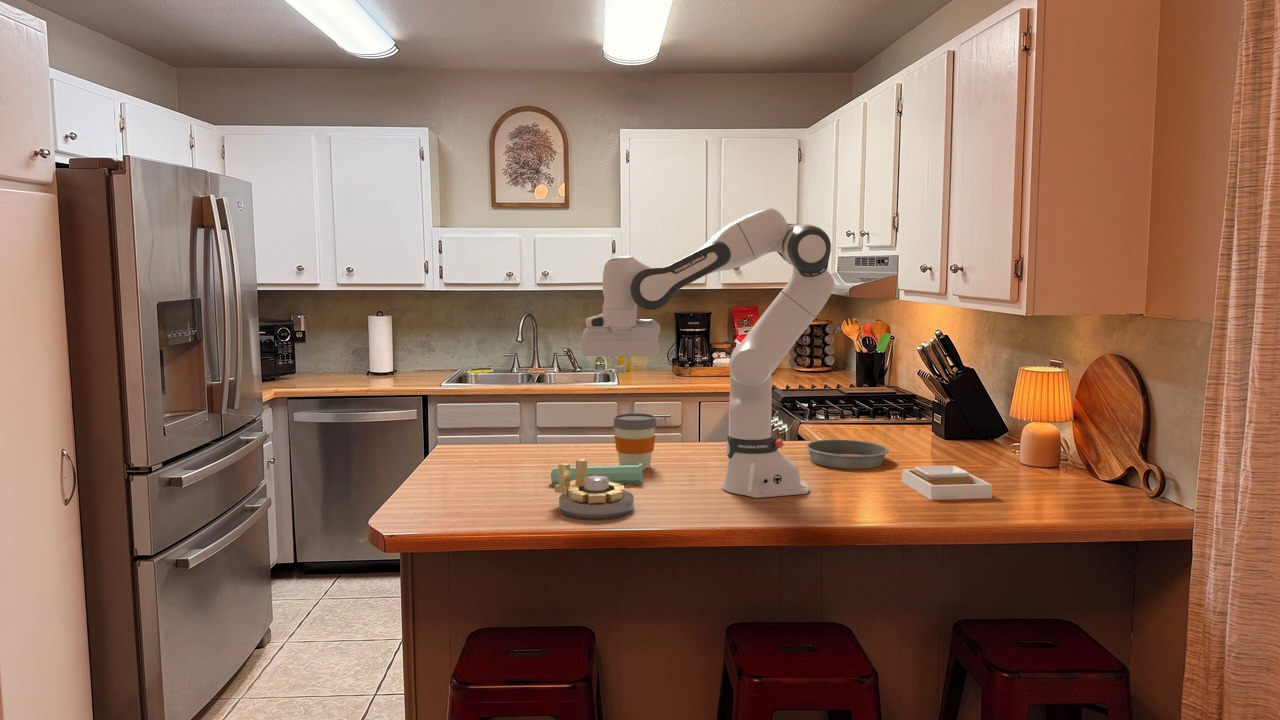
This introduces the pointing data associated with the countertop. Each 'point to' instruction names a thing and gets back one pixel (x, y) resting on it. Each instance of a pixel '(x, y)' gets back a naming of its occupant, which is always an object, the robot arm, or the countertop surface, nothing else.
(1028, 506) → the countertop surface
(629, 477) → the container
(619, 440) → the reusable coffee cup
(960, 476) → the soap dish
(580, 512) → the grey round piece
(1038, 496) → the countertop surface
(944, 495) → the dish tray
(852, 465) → the cake pan
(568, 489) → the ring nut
